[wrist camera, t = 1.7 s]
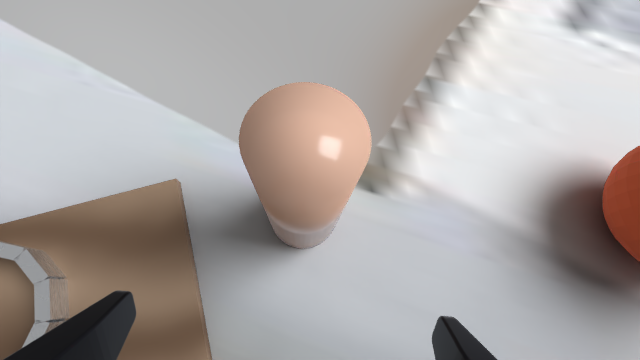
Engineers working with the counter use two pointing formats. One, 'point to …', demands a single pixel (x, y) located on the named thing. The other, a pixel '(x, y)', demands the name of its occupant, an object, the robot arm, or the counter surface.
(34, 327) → the steel collar
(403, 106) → the counter surface
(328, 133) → the beige rounded cylinder
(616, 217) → the tomato
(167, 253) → the walnut board
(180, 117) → the counter surface
